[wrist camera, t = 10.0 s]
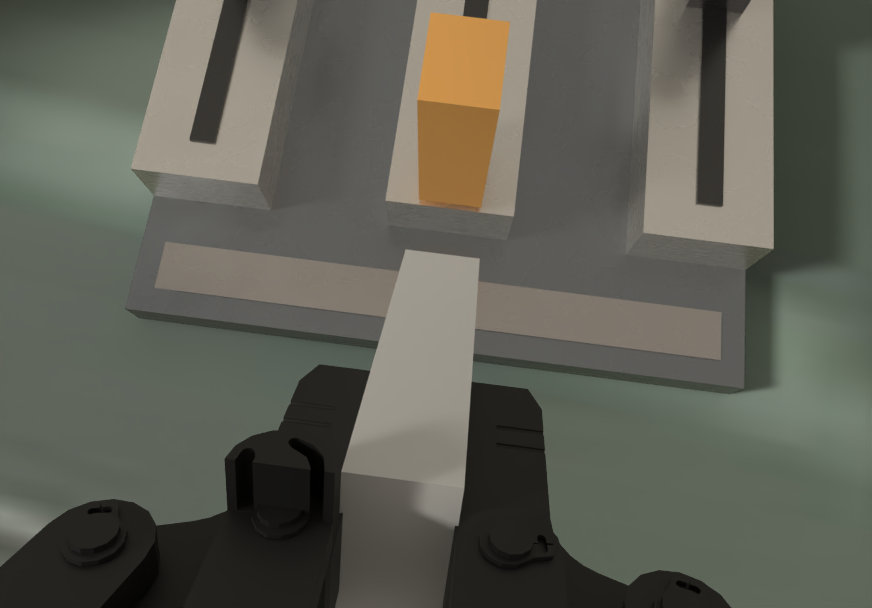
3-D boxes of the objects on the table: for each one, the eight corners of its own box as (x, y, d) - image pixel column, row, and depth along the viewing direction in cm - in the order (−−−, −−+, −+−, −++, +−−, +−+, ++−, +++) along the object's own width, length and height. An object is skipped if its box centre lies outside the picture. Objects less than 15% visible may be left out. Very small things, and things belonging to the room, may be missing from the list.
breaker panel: (139, 318, 30) (-13, 216, 20) (254, -144, 37) (187, -403, 27) (728, 393, 30) (895, 331, 19) (736, -88, 37) (862, -329, 26)
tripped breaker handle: (419, 199, 27) (417, 100, 21) (428, 130, 28) (430, 12, 22) (481, 207, 27) (499, 109, 21) (489, 137, 28) (510, 21, 22)
